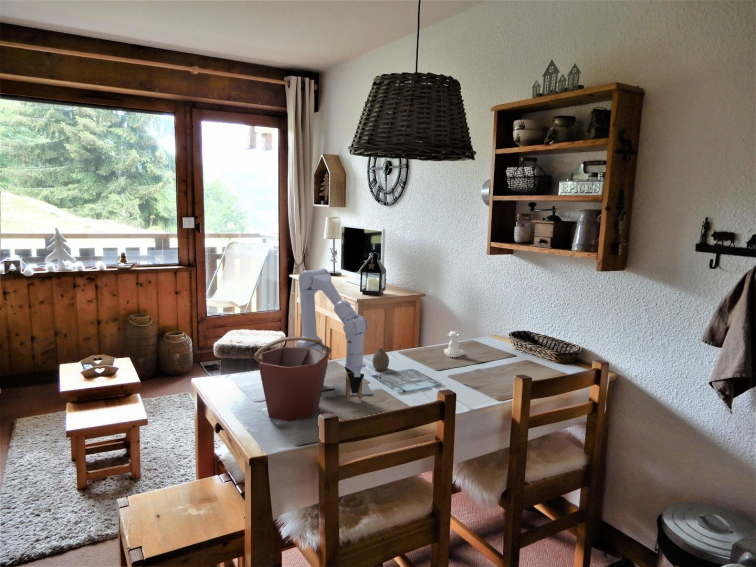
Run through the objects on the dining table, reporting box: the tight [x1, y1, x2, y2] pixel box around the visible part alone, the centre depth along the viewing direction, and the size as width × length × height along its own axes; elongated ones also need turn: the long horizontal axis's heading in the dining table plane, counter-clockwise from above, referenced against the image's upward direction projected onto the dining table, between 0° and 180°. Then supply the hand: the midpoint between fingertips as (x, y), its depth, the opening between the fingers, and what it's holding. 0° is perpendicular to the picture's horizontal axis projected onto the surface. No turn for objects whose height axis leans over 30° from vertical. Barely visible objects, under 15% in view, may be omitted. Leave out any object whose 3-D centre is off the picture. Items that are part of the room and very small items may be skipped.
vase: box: [372, 348, 390, 372], centre depth 211 cm, size 7×7×9 cm
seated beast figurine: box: [443, 330, 466, 359], centre depth 233 cm, size 10×9×12 cm
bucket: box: [253, 336, 332, 423], centre depth 166 cm, size 24×22×25 cm
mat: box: [332, 382, 373, 398], centre depth 188 cm, size 13×11×1 cm
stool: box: [345, 371, 363, 400], centre depth 177 cm, size 5×5×8 cm
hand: (353, 389), depth 177 cm, fingers closed on stool, 5 cm apart
